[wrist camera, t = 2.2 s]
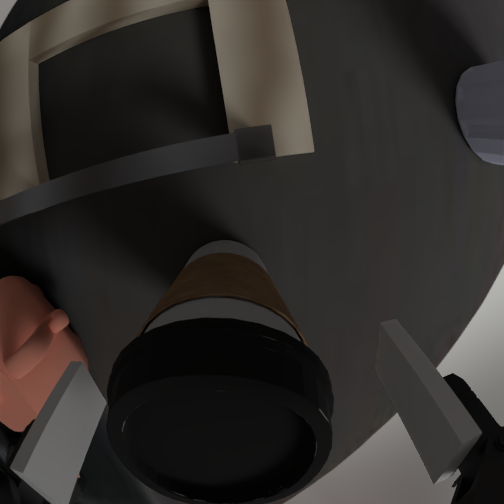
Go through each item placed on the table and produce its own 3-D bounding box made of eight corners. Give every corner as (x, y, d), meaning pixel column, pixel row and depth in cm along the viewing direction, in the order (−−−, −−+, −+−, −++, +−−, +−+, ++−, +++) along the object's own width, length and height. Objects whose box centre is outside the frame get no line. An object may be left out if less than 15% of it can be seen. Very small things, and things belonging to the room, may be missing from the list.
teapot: (109, 400, 25) (78, 485, 15) (5, 360, 24) (-40, 420, 13) (103, 276, 21) (29, 362, 11) (-17, 242, 19) (-95, 288, 9)
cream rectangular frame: (-12, 228, 19) (-66, 255, 12) (-26, 71, 14) (-78, 64, 7) (308, 151, 19) (349, 152, 12) (270, -38, 14) (284, -97, 7)
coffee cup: (177, 330, 23) (136, 504, 9) (160, 226, 20) (42, 366, 6) (283, 324, 23) (331, 498, 9) (282, 217, 20) (379, 356, 6)
